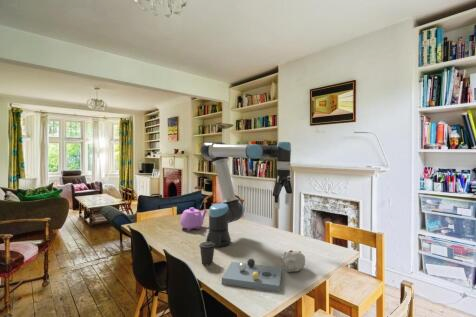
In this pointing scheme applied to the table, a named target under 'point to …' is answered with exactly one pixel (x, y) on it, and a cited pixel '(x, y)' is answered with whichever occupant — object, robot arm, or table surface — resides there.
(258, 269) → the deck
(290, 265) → the candle
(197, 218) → the teapot
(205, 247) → the coffee cup
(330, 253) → the table surface
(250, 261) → the black ball
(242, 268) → the steel ball
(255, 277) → the mustard ball
